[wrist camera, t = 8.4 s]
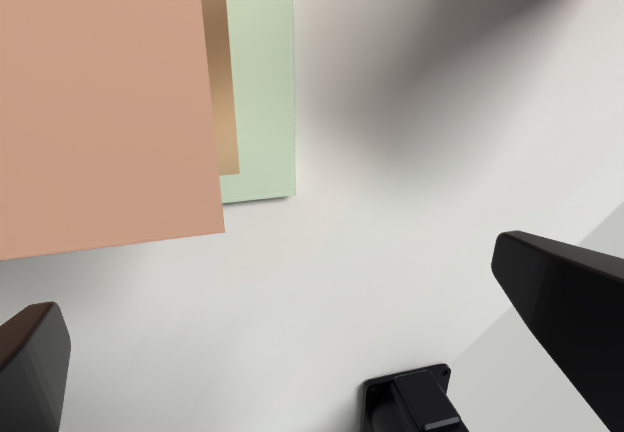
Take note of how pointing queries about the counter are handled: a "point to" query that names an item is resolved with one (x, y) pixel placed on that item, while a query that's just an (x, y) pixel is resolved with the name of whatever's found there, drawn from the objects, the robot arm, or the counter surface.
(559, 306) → the robot arm
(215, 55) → the oak block
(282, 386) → the counter surface
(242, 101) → the build plate
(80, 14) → the terracotta block
